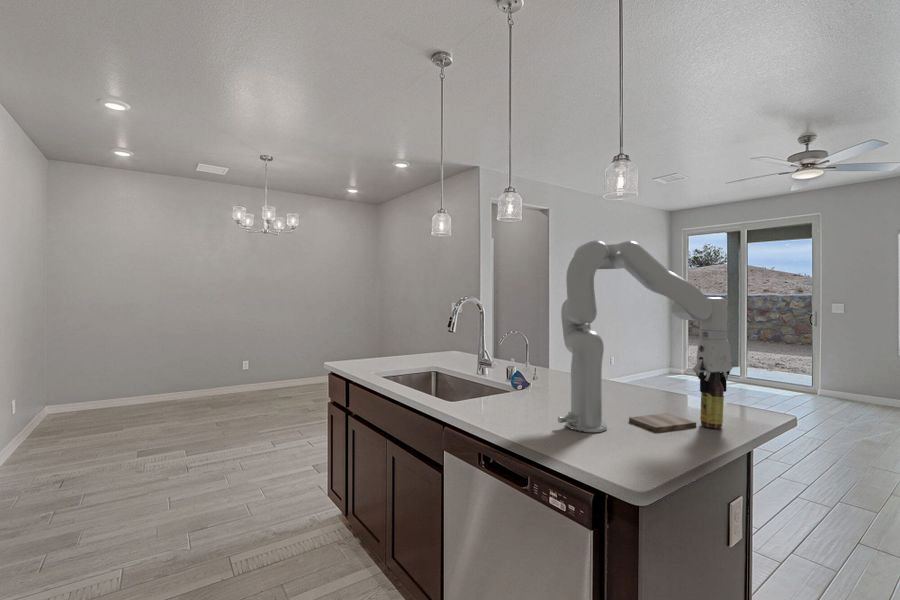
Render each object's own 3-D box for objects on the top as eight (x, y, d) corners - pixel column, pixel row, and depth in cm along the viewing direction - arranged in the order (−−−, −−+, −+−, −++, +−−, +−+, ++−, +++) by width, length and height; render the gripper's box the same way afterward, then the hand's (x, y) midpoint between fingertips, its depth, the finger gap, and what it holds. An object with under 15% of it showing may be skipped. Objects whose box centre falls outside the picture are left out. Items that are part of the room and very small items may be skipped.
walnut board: (656, 432, 136) (656, 427, 136) (629, 421, 147) (629, 417, 147) (696, 427, 141) (696, 422, 141) (666, 417, 152) (666, 413, 152)
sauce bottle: (699, 422, 145) (701, 362, 145) (721, 425, 142) (723, 364, 142) (700, 427, 139) (702, 365, 139) (723, 430, 137) (725, 367, 137)
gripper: (702, 337, 134) (702, 396, 134) (744, 335, 139) (744, 392, 140) (682, 335, 141) (682, 391, 141) (722, 333, 147) (722, 387, 147)
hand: (713, 391), depth 140 cm, fingers closed on sauce bottle, 6 cm apart
